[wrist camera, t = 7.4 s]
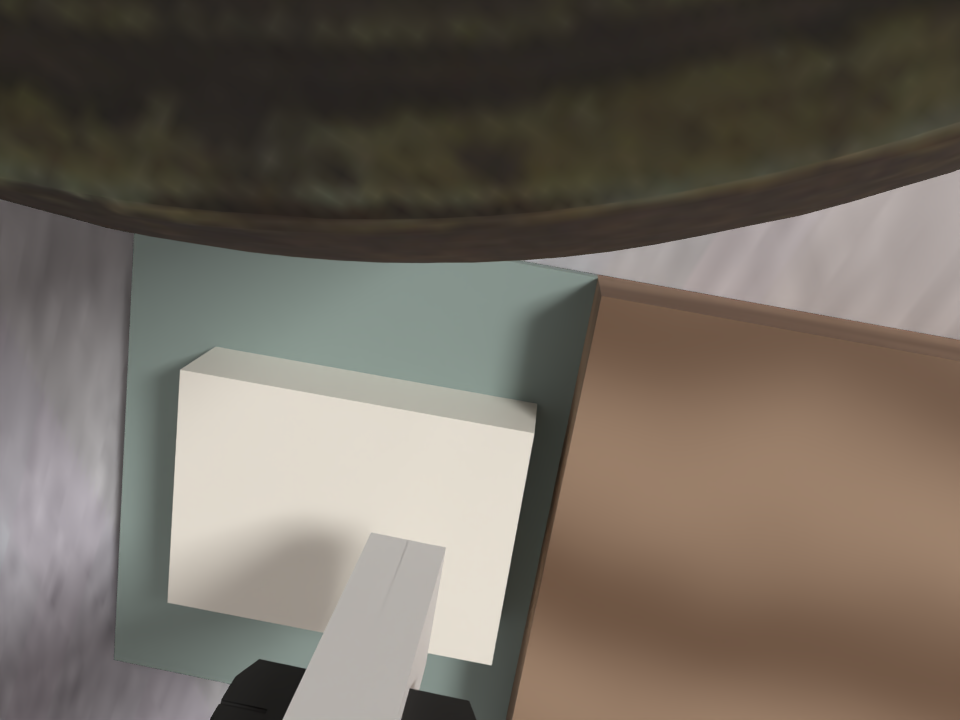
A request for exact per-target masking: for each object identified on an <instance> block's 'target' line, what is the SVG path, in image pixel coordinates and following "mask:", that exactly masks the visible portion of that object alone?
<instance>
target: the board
mask: <svg viewBox="0 0 960 720" xmlns="http://www.w3.org/2000/svg"><path fill="white" fill-rule="evenodd" d="M506 720H960V340H956V339H951V338H945V337H940V336H934V335H928V334H923V333H917V332H912V331H906V330H901V329H895V328H890V327H884V326H879V325H873V324H868V323H862V322H857V321H851V320H846V319H840V318H835V317H829V316H824V315H818V314H813V313H807V312H801V311H796V310H790V309H785V308H779V307H774V306H768V305H763V304H757V303H752V302H746V301H741V300H735V299H730V298H724V297H719V296H713V295H708V294H702V293H697V292H691V291H686V290H680V289H675V288H669V287H663V286H658V285H652V284H647V283H641V282H636V281H630V280H625V279H619V278H614V277H608V276H603V275H598V280H597V285H596V290H595V294H594V299H593V304H592V309H591V314H590V318H589V323H588V328H587V333H586V337H585V342H584V347H583V352H582V357H581V361H580V366H579V371H578V376H577V381H576V385H575V390H574V395H573V400H572V405H571V409H570V414H569V419H568V424H567V429H566V433H565V438H564V443H563V448H562V452H561V457H560V462H559V467H558V472H557V476H556V481H555V486H554V491H553V496H552V500H551V505H550V510H549V515H548V520H547V524H546V529H545V534H544V539H543V544H542V548H541V553H540V558H539V563H538V567H537V572H536V577H535V582H534V587H533V591H532V596H531V601H530V606H529V611H528V615H527V620H526V625H525V630H524V635H523V639H522V644H521V649H520V654H519V659H518V663H517V668H516V673H515V678H514V682H513V687H512V692H511V697H510V702H509V706H508V711H507V716H506Z"/></svg>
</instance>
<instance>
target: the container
mask: <svg viewBox="0 0 960 720" xmlns="http://www.w3.org/2000/svg"><path fill="white" fill-rule="evenodd" d="M959 169H960V0H0V199H2V200H6V201H10V202H13V203H17V204H21V205H25V206H28V207H32V208H36V209H39V210H43V211H47V212H51V213H54V214H58V215H62V216H66V217H70V218H73V219H77V220H81V221H85V222H88V223H92V224H95V225H99V226H102V227H106V228H111V229H116V230H120V231H125V232H130V233H135V234H140V235H145V236H150V237H156V238H162V239H169V240H175V241H181V242H187V243H194V244H200V245H206V246H213V247H219V248H226V249H232V250H238V251H245V252H252V253H261V254H270V255H279V256H289V257H300V258H312V259H324V260H337V261H357V262H376V263H478V262H498V261H518V260H531V259H544V258H557V257H568V256H577V255H585V254H594V253H602V252H610V251H617V250H623V249H629V248H636V247H642V246H649V245H655V244H660V243H665V242H670V241H676V240H681V239H686V238H691V237H696V236H702V235H707V234H711V233H716V232H721V231H726V230H731V229H735V228H740V227H745V226H750V225H755V224H760V223H765V222H770V221H775V220H780V219H785V218H790V217H795V216H800V215H804V214H808V213H811V212H815V211H819V210H822V209H826V208H830V207H834V206H837V205H841V204H845V203H848V202H852V201H855V200H859V199H862V198H866V197H869V196H872V195H876V194H879V193H882V192H886V191H889V190H893V189H896V188H899V187H903V186H906V185H910V184H913V183H916V182H920V181H923V180H927V179H930V178H933V177H937V176H940V175H944V174H947V173H951V172H953V171H956V170H959Z"/></svg>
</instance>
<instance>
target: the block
mask: <svg viewBox="0 0 960 720" xmlns="http://www.w3.org/2000/svg"><path fill="white" fill-rule="evenodd" d="M536 412H537V404H536V403H530V402H524V401H519V400H513V399H508V398H502V397H496V396H491V395H485V394H479V393H474V392H468V391H463V390H457V389H451V388H446V387H440V386H434V385H429V384H423V383H418V382H412V381H406V380H401V379H395V378H389V377H384V376H378V375H373V374H367V373H361V372H356V371H350V370H344V369H339V368H333V367H328V366H322V365H316V364H311V363H305V362H299V361H294V360H288V359H283V358H277V357H271V356H266V355H260V354H254V353H249V352H243V351H237V350H232V349H226V348H221V347H214V348H213V349H211V350H210V351H208V352H207V353H205V354H203V355H202V356H200V357H199V358H197V359H196V360H194V361H193V362H191V363H190V364H188V365H187V366H185V367H183V368H182V369H180V381H179V399H178V418H177V436H176V455H175V473H174V492H173V510H172V529H171V547H170V566H169V584H168V602H167V603H172V604H177V605H182V606H188V607H193V608H198V609H203V610H208V611H213V612H219V613H224V614H229V615H234V616H239V617H244V618H249V619H255V620H260V621H265V622H270V623H275V624H280V625H286V626H291V627H296V628H301V629H306V630H311V631H317V632H322V633H324V631H325V629H326V627H327V625H328V622H329V620H330V618H331V616H332V614H333V612H334V610H335V608H336V606H337V603H338V601H339V599H340V597H341V595H342V593H343V591H344V589H345V587H346V584H347V582H348V580H349V578H350V576H351V574H352V572H353V570H354V568H355V565H356V563H357V561H358V559H359V557H360V555H361V553H362V551H363V548H364V546H365V544H366V542H367V540H368V538H369V536H370V534H371V533H376V534H381V535H386V536H391V537H396V538H401V539H406V540H411V541H416V542H421V543H426V544H431V545H436V546H441V547H446V550H445V556H444V562H443V567H442V573H441V579H440V585H439V591H438V597H437V602H436V608H435V614H434V620H433V626H432V632H431V637H430V643H429V649H428V653H430V654H435V655H440V656H445V657H451V658H456V659H461V660H466V661H471V662H476V663H482V664H487V665H492V660H493V655H494V650H495V644H496V639H497V633H498V628H499V623H500V617H501V612H502V606H503V601H504V595H505V590H506V585H507V579H508V574H509V568H510V563H511V558H512V552H513V547H514V541H515V536H516V530H517V525H518V520H519V514H520V509H521V503H522V498H523V492H524V487H525V482H526V476H527V471H528V465H529V460H530V455H531V449H532V444H533V438H534V433H535V422H536Z"/></svg>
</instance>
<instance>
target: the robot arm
mask: <svg viewBox="0 0 960 720" xmlns="http://www.w3.org/2000/svg"><path fill="white" fill-rule="evenodd" d="M445 550H446V547H441V546H436V545H431V544H426V543H421V542H416V541H411V540H406V539H401V538H396V537H391V536H386V535H381V534H376V533H371V534H370V536H369V538H368V540H367V542H366V544H365V546H364V548H363V551H362V553H361V555H360V557H359V559H358V561H357V563H356V565H355V568H354V570H353V572H352V574H351V576H350V578H349V580H348V582H347V584H346V587H345V589H344V591H343V593H342V595H341V597H340V599H339V601H338V603H337V606H336V608H335V610H334V612H333V614H332V616H331V618H330V620H329V622H328V625H327V627H326V629H325V631H324V633H323V635H322V637H321V639H320V641H319V644H318V646H317V648H316V650H315V652H314V654H313V656H312V658H311V661H310V663H309V665H308V667H307V669H305V668H300V667H296V666H291V665H286V664H281V663H276V662H272V661H267V660H262V659H259V660H257V661H256V662H254V663H253V664H252V665H250V666H249V667H248V668H246V669H245V670H243V671H242V672H241V673H239V674H238V675H237V676H235V678H234V679H233V681H232V683H231V684H230V686H229V688H228V690H227V691H226V693H225V695H224V696H223V698H222V700H221V704H219V705H218V706H217V708H216V710H215V711H214V713H213V715H212V717H211V718H210V720H476V717H475V715H474V712H473V709H472V707H471V704H470V701H468V700H463V699H459V698H454V697H449V696H444V695H440V694H435V693H430V692H425V691H420V690H419V689H420V685H421V681H422V677H423V673H424V670H425V666H426V661H427V655H428V649H429V643H430V637H431V632H432V626H433V620H434V614H435V608H436V602H437V597H438V591H439V585H440V579H441V573H442V567H443V562H444V556H445Z"/></svg>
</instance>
